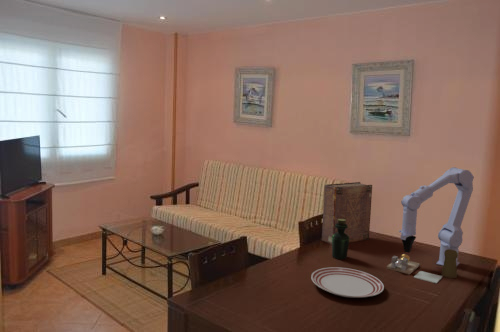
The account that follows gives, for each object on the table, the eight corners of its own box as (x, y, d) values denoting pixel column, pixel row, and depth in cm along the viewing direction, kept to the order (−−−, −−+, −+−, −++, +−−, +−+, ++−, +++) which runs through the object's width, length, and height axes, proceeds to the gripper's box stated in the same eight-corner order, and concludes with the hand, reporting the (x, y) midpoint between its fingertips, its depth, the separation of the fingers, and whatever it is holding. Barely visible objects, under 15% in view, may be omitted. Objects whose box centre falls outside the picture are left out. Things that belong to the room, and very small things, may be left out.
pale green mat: (420, 271, 182) (420, 270, 182) (442, 277, 177) (442, 276, 177) (413, 277, 175) (413, 276, 175) (436, 283, 170) (436, 282, 170)
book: (356, 234, 236) (360, 181, 232) (369, 239, 228) (372, 184, 224) (321, 240, 223) (324, 184, 219) (333, 245, 215) (336, 187, 212)
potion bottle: (350, 256, 199) (353, 219, 197) (344, 261, 192) (347, 222, 190) (334, 253, 203) (336, 216, 201) (328, 257, 197) (330, 220, 194)
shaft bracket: (397, 260, 196) (398, 248, 195) (419, 265, 190) (420, 253, 189) (386, 268, 185) (387, 256, 184) (409, 274, 179) (410, 261, 178)
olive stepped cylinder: (458, 278, 176) (461, 253, 175) (443, 277, 177) (445, 251, 176) (454, 273, 182) (457, 248, 180) (439, 271, 183) (442, 247, 182)
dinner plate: (384, 280, 172) (385, 272, 171) (382, 309, 146) (382, 300, 146) (317, 270, 181) (317, 262, 180) (304, 295, 155) (304, 287, 155)
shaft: (400, 261, 190) (401, 252, 190) (409, 263, 188) (410, 254, 187) (391, 268, 181) (392, 259, 181) (401, 270, 179) (401, 261, 179)
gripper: (405, 217, 196) (403, 246, 197) (394, 223, 184) (392, 253, 186) (421, 220, 191) (419, 249, 193) (411, 226, 180) (408, 257, 182)
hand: (407, 251), depth 189 cm, fingers closed
